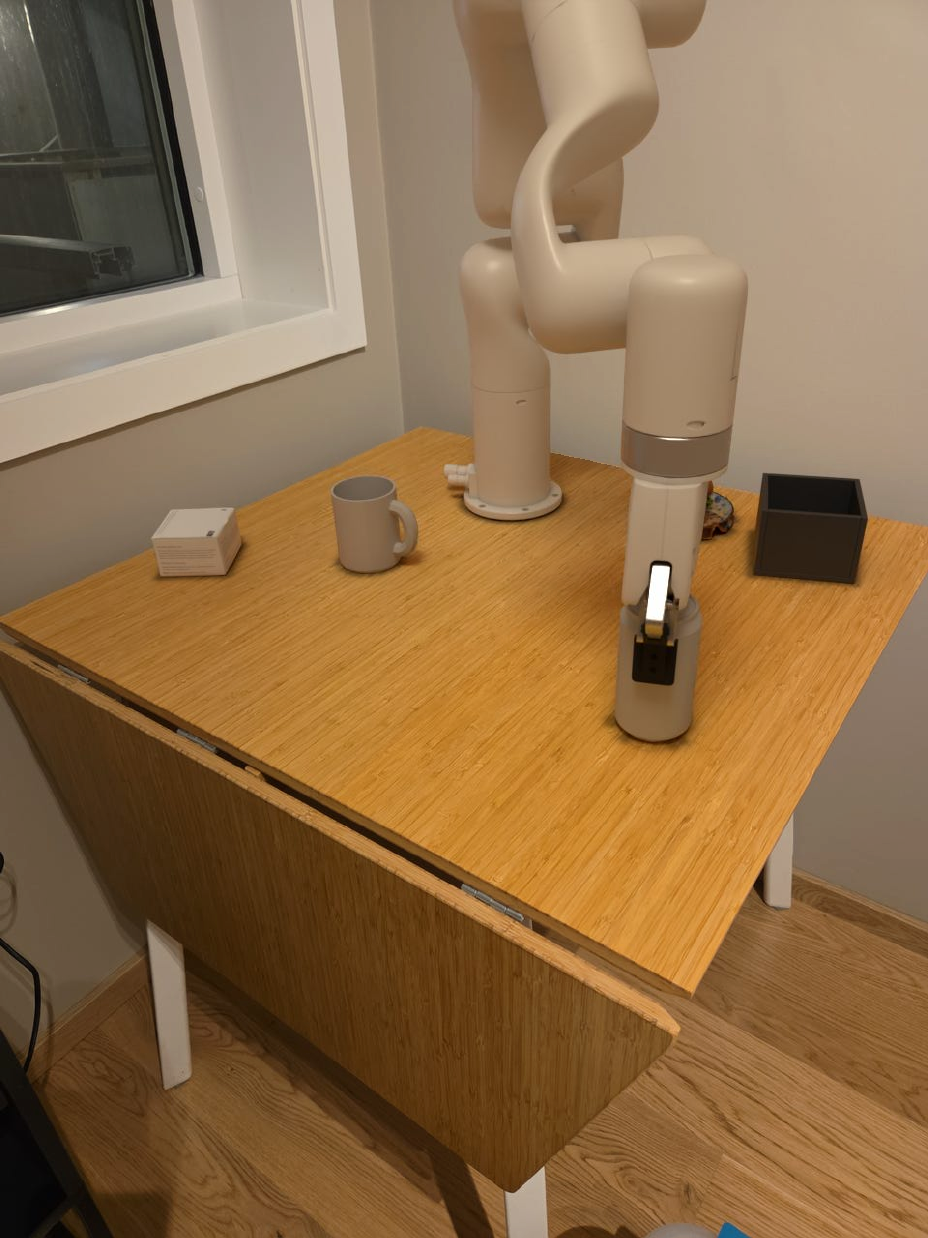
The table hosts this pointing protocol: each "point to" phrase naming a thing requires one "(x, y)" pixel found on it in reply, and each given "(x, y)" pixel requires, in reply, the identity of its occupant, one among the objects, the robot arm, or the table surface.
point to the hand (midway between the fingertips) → (657, 652)
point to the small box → (197, 542)
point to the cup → (371, 524)
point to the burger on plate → (716, 513)
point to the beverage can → (652, 705)
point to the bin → (809, 527)
